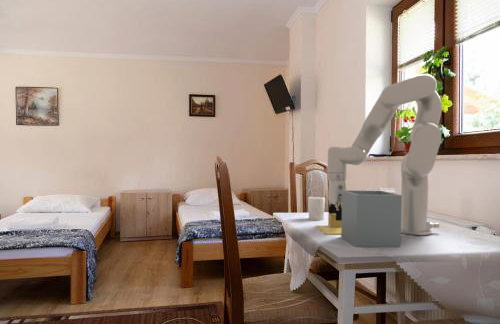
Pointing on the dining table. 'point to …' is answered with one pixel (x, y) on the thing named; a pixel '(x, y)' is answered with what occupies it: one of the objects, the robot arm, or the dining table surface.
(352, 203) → the tub
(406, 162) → the robot arm
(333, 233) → the lid
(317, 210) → the white cup
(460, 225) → the dining table surface
